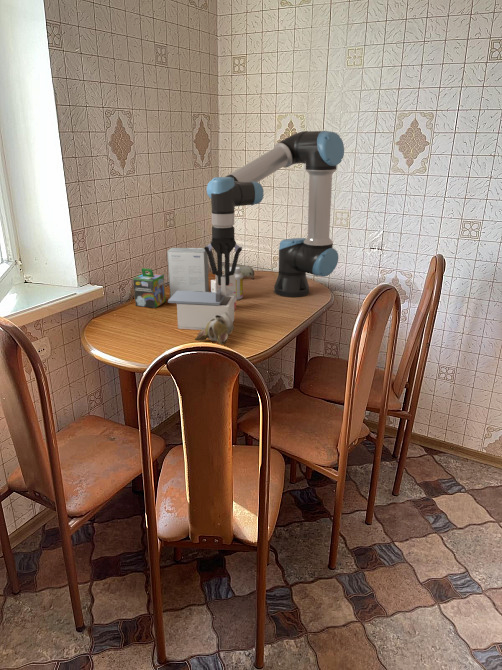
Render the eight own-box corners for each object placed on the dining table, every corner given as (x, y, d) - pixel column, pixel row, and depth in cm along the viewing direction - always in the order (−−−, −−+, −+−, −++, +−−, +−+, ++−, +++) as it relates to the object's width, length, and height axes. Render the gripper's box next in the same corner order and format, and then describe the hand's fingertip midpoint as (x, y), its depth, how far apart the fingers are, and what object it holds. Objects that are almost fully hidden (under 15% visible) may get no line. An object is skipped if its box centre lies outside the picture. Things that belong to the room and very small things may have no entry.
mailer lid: (225, 295, 183) (225, 285, 182) (219, 305, 172) (219, 295, 171) (177, 292, 186) (176, 283, 184) (167, 302, 174) (167, 292, 173)
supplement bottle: (238, 294, 216) (238, 265, 211) (245, 299, 210) (245, 268, 205) (224, 296, 213) (223, 266, 208) (230, 301, 207) (230, 270, 203)
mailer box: (234, 319, 187) (234, 296, 183) (228, 331, 175) (228, 306, 172) (186, 317, 189) (185, 294, 185) (177, 328, 178) (176, 304, 174)
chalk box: (166, 302, 206) (164, 266, 200) (155, 308, 198) (152, 271, 192) (146, 299, 209) (143, 264, 203) (134, 306, 201) (131, 269, 195)
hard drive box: (209, 294, 216) (208, 248, 208) (206, 300, 209) (205, 252, 201) (173, 293, 217) (171, 247, 210) (169, 298, 210) (166, 250, 203)
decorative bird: (253, 281, 237) (253, 264, 234) (217, 279, 239) (217, 262, 236) (255, 278, 242) (255, 261, 239) (220, 276, 245) (219, 259, 242)
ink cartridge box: (230, 305, 202) (230, 269, 196) (236, 309, 198) (236, 272, 192) (210, 308, 198) (210, 272, 193) (216, 312, 194) (215, 275, 189)
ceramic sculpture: (240, 309, 170) (222, 326, 157) (241, 333, 173) (223, 351, 161) (211, 306, 173) (191, 322, 161) (213, 329, 177) (193, 347, 164)
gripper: (244, 224, 171) (243, 291, 180) (206, 223, 173) (207, 290, 181) (240, 228, 164) (240, 298, 173) (201, 227, 166) (203, 296, 174)
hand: (223, 294), depth 177 cm, fingers closed
